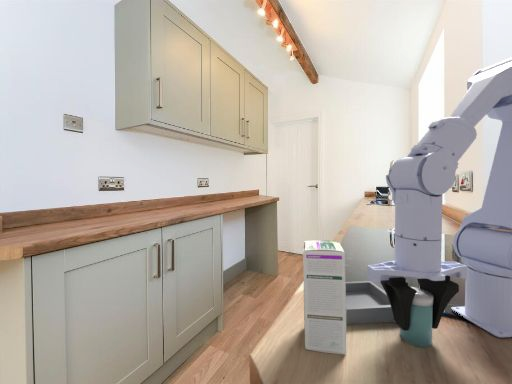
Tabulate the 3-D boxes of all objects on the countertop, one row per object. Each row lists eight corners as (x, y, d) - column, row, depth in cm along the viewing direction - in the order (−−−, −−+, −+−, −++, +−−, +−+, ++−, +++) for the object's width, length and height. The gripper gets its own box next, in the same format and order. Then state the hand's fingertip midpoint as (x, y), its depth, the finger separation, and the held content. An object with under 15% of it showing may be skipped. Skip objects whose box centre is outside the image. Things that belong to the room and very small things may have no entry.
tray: (370, 292, 50) (370, 280, 50) (405, 320, 40) (405, 306, 40) (323, 294, 49) (323, 283, 49) (346, 324, 39) (346, 309, 39)
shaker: (417, 328, 38) (418, 286, 37) (439, 346, 33) (440, 298, 33) (393, 330, 37) (394, 287, 37) (413, 348, 33) (413, 300, 33)
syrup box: (347, 356, 32) (348, 250, 31) (303, 350, 33) (303, 248, 32) (340, 330, 37) (341, 240, 37) (303, 326, 38) (303, 239, 38)
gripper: (388, 244, 30) (387, 347, 31) (490, 241, 31) (487, 340, 32) (359, 233, 37) (359, 316, 38) (444, 230, 38) (442, 311, 39)
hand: (415, 325), depth 35 cm, fingers closed on shaker, 4 cm apart
